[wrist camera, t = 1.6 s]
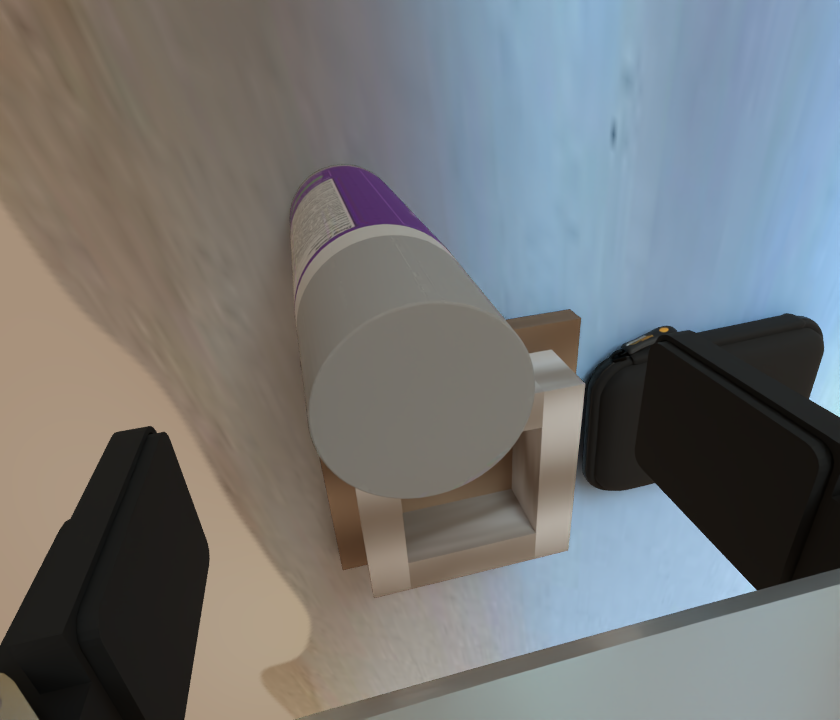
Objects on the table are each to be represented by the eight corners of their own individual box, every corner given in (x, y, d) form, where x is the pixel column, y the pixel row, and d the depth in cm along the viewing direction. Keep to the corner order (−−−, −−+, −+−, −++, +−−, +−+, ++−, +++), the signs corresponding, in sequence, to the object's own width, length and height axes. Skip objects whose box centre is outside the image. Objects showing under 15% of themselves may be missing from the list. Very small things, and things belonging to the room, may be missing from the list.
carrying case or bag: (809, 283, 31) (578, 331, 29) (858, 303, 28) (608, 357, 26) (768, 428, 36) (570, 477, 34) (806, 456, 34) (594, 511, 32)
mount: (299, 353, 25) (303, 406, 21) (569, 309, 28) (619, 349, 24) (340, 554, 32) (349, 623, 28) (554, 505, 34) (590, 562, 30)
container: (419, 209, 23) (588, 376, 10) (356, 291, 24) (439, 533, 12) (331, 139, 21) (408, 240, 8) (267, 232, 22) (248, 448, 9)
